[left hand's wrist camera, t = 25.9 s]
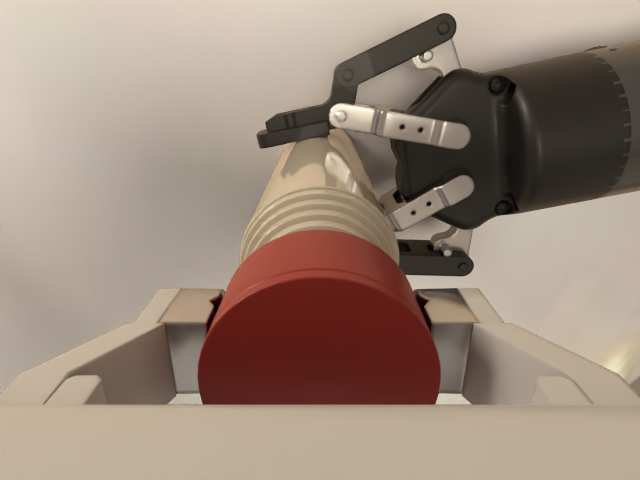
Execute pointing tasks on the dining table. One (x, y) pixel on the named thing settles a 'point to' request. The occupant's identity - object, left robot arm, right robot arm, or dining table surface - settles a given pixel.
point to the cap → (319, 329)
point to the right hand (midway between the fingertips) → (274, 190)
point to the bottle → (320, 196)
